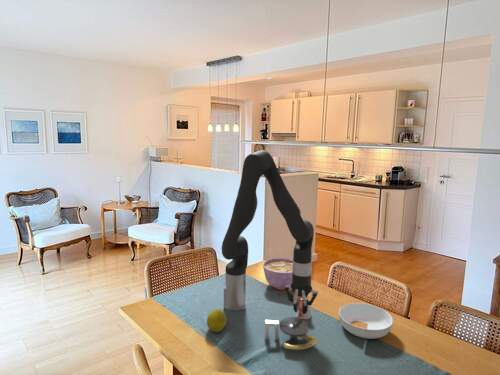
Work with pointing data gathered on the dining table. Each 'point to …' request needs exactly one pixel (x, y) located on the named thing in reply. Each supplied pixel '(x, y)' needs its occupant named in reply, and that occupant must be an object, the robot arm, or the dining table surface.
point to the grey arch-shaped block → (271, 323)
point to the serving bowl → (366, 320)
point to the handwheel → (297, 329)
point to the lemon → (216, 320)
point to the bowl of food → (278, 272)
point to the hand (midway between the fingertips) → (300, 312)
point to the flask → (306, 315)
